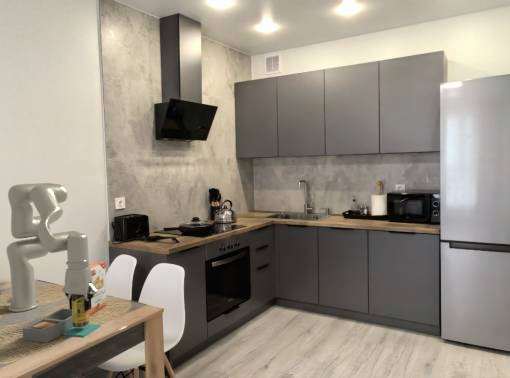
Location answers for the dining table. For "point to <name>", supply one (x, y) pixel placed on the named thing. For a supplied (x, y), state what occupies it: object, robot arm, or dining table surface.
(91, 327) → the mat
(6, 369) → the dining table surface
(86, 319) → the sauce bottle
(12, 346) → the dining table surface
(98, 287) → the cracker box
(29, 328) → the rack
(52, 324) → the offcut upper
